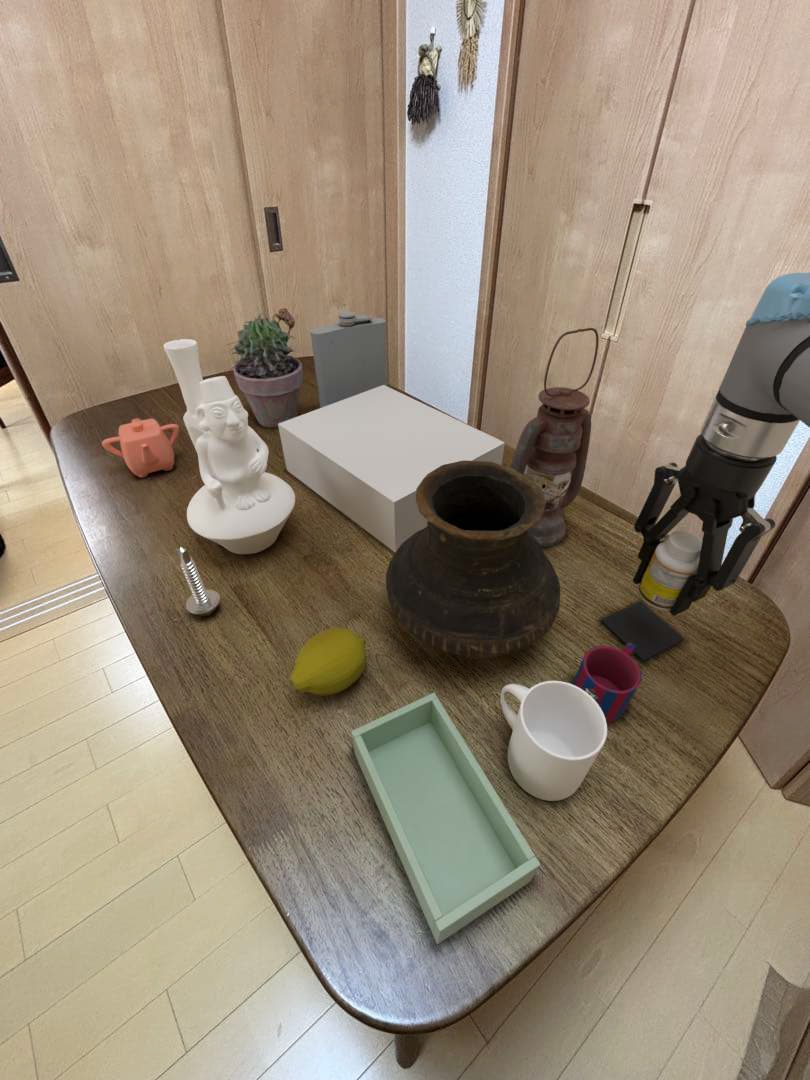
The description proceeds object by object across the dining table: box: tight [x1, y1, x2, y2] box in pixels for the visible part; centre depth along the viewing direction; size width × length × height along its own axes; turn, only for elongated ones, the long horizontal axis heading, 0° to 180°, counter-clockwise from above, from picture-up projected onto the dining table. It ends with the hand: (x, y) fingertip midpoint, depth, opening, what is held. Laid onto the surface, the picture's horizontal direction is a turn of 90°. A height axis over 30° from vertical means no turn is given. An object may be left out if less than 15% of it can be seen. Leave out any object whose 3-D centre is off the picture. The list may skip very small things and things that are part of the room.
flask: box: [309, 310, 388, 409], centre depth 112 cm, size 17×5×25 cm, turn 119°
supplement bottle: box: [638, 530, 703, 611], centre depth 62 cm, size 6×6×10 cm
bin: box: [351, 692, 541, 945], centre depth 50 cm, size 20×11×6 cm, turn 27°
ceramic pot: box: [385, 460, 561, 659], centre depth 65 cm, size 24×24×22 cm
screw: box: [175, 546, 221, 618], centre depth 69 cm, size 13×5×5 cm
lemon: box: [289, 626, 367, 696], centre depth 62 cm, size 11×8×8 cm
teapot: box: [101, 418, 180, 478], centre depth 101 cm, size 14×12×10 cm
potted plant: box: [224, 308, 304, 429], centre depth 112 cm, size 18×20×25 cm
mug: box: [500, 680, 608, 802], centre depth 53 cm, size 9×12×11 cm
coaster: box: [600, 601, 685, 663], centre depth 70 cm, size 8×8×1 cm
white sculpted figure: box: [162, 338, 296, 555], centre depth 77 cm, size 18×22×32 cm
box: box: [277, 385, 506, 553], centre depth 96 cm, size 28×35×11 cm
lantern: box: [509, 327, 599, 549], centre depth 76 cm, size 11×16×35 cm
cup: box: [571, 642, 642, 724], centre depth 61 cm, size 7×10×7 cm
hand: (659, 594), depth 65 cm, fingers closed on supplement bottle, 6 cm apart
